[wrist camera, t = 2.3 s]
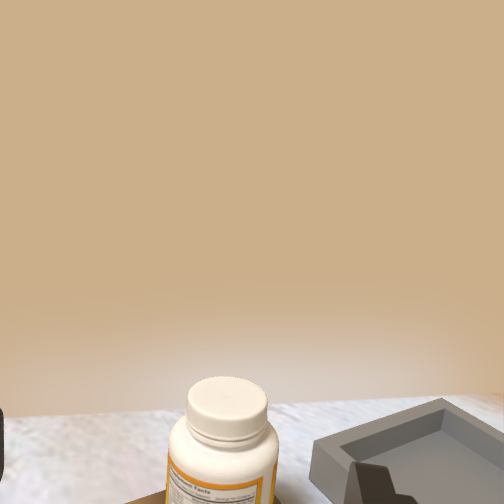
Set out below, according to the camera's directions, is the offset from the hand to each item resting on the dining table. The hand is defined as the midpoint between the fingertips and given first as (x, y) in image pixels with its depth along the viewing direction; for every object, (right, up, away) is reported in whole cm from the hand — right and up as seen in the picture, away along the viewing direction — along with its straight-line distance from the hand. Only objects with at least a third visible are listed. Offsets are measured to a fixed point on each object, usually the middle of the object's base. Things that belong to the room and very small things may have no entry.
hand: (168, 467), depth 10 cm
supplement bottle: (0, -12, +14) cm, 19 cm away
